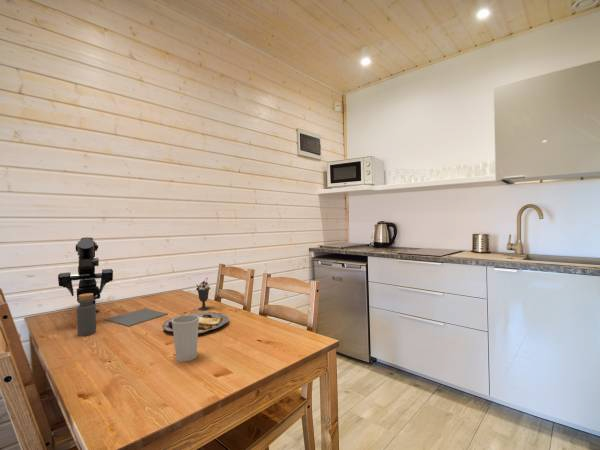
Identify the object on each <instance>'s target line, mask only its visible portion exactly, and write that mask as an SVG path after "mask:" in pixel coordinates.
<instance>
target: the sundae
mask: <svg viewBox="0 0 600 450" xmlns="http://www.w3.org/2000/svg"><path fill="white" fill-rule="evenodd" d="M207 280H208V277H206V278H205V280H203V281H202V282H200V284H196V286H197V288H196V289H195V290H196V291H197V293H198V300H199V301H200V302H201V307H199V308H198V311H207V310H209V309H210V306H209V307H208V306H206V301H208V299H209V293H210V290H211V286H210V285H209V284H208V281H207Z"/></svg>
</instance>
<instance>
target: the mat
mask: <svg viewBox="0 0 600 450" xmlns="http://www.w3.org/2000/svg"><path fill="white" fill-rule="evenodd" d="M167 315H169V314H168V313H167V312H162V311H157V310H153V309H148V308H146V307H145V308H140V309H136V310H133V311H130V312H125V313H123V314H118V315H115V316H111V317H108V318H105V319H104V320H105V321H108V322H111V323H116V324H117V325H121V326H125V327H128V328H129V327H132V326H136V325H138V324H142V323H145V322H148V321H152V320H154V319H158V318H161V317H163V316H167Z"/></svg>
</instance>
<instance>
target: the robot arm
mask: <svg viewBox="0 0 600 450" xmlns="http://www.w3.org/2000/svg"><path fill="white" fill-rule="evenodd" d="M93 239H94V238H93V237H88V236H86V237H82V238H80V240H79V241H78V242H77V243H76V244H75V252H76V253H77V252H78V253H77V256H78V266H77V273H78V274H71V272H60V273H59V274H58V275H57V281H58V282H57V283H58V287H63V288H64V289H67V290H68V292H69V293H70V294H71V296H72V297H74V287H73V281H78V287H77V288H76V302H77V303H78V300H80V299H79V295H81V294H87V293H93V298H94V301H93V304H95V305H96V300H99V299H101V293H102V291H103V290H104V288H105V286H106V284H107V283H110V282H112V281H114V270H113V269H112V268H105V269H102V270H101V272H100V273H98V272H97V273H96V272H95V271H96V267H99V264H100V263H99V257H96V258H94V257H95V251H97V252H98V249H99V245H98V243H96V242H95V240H93ZM97 279H100V283H99V285H100V286H99V285H97V281H96V280H97ZM97 312H100V310H98V309H96V313H97Z"/></svg>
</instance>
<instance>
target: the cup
mask: <svg viewBox="0 0 600 450" xmlns="http://www.w3.org/2000/svg"><path fill="white" fill-rule="evenodd" d="M182 315H183V314H182ZM182 315H179V317H177V316H175V317H176V318H175V317H173V318H174V319H172V318H171V319H172V327H173V331H172V332H173V343H174V351H175V355H174V357H175V361H177V362H189V361H193V360H194V359H196V358H197V357H198V340H199V339H198V335H199V333H198V332H199V331H198V325H199V316H197V315H183V316H182Z"/></svg>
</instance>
